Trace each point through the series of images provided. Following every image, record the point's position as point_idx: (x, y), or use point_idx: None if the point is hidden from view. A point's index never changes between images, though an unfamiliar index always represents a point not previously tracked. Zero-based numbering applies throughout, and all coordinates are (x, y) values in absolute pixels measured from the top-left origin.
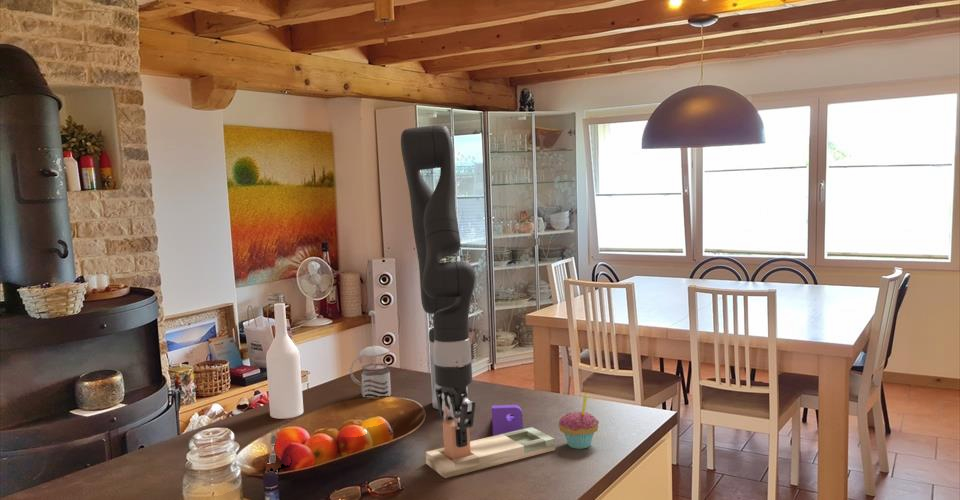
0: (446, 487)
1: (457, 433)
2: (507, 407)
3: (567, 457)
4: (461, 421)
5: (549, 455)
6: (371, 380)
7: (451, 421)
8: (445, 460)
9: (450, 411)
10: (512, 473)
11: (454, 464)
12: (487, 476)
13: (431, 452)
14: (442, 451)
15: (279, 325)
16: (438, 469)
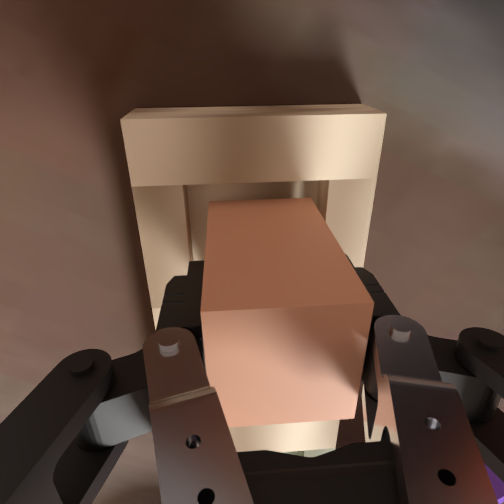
0: (18, 65)
1: (182, 312)
2: None
3: (123, 496)
4: (30, 415)
5: None
6: None
7: (323, 353)
8: (196, 159)
9: (375, 423)
10: (68, 352)
11: (131, 182)
12: (77, 275)
13: (352, 139)
14: (327, 198)
15: None
16: (208, 110)
